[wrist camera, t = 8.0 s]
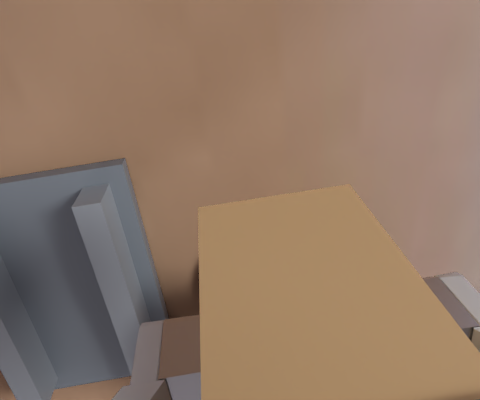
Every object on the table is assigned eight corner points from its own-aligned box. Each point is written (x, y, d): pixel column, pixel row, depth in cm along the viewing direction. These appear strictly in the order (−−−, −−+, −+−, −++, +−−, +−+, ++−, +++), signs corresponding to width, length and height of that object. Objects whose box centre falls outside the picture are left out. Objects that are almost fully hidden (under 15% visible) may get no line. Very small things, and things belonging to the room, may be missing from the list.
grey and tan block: (193, 204, 11) (192, 522, 4) (353, 180, 11) (574, 453, 5) (217, 324, 13) (240, 665, 6) (352, 302, 13) (506, 614, 7)
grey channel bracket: (-67, 188, 24) (-106, 217, 21) (124, 158, 24) (114, 181, 21) (32, 382, 31) (14, 425, 28) (179, 356, 31) (177, 396, 28)
